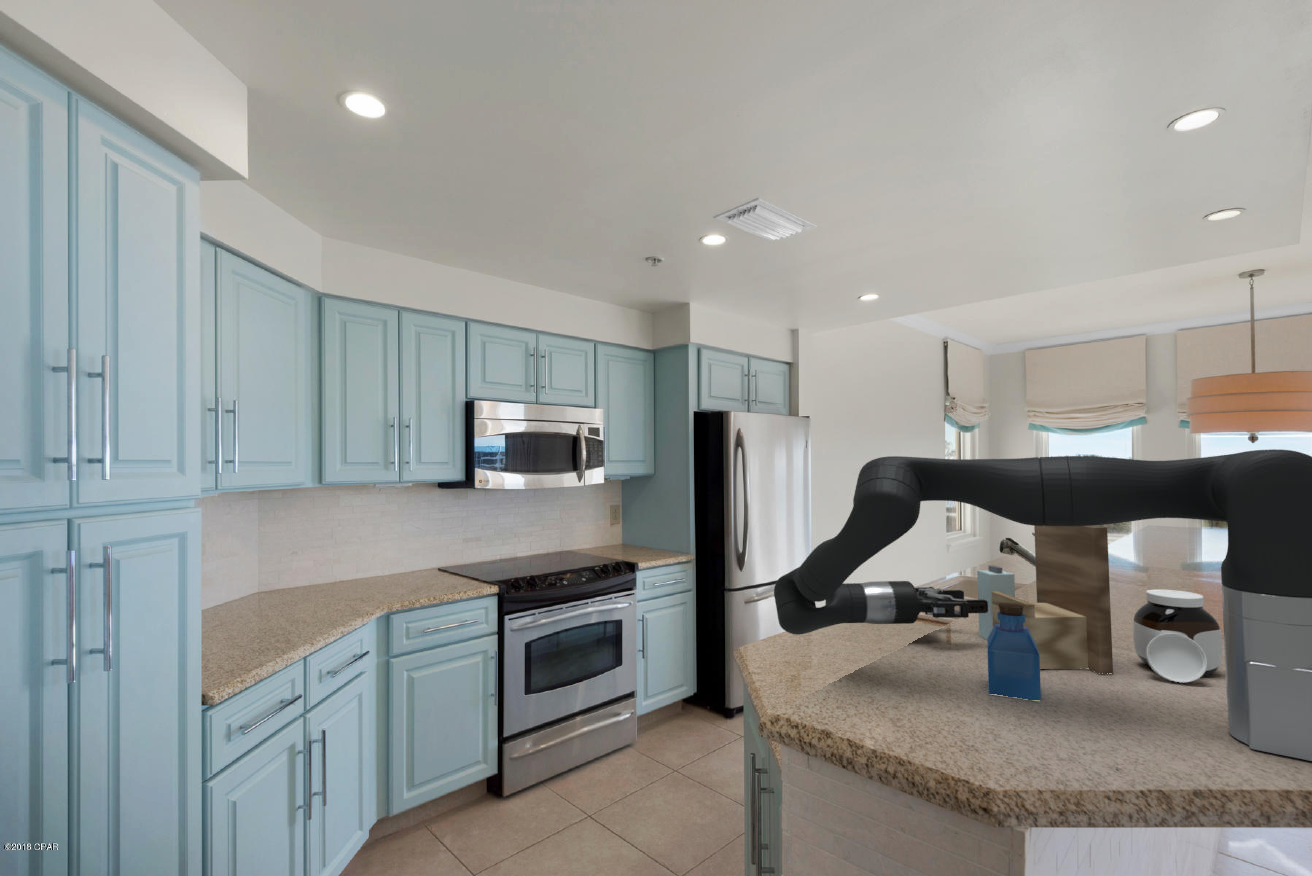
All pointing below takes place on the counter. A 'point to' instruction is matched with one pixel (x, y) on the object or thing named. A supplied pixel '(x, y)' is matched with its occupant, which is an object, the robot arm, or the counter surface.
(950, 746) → the counter surface
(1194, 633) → the spread jar
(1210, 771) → the counter surface
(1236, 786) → the counter surface
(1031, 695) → the perfume bottle
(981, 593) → the pale blue tall block
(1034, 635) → the cleat board
